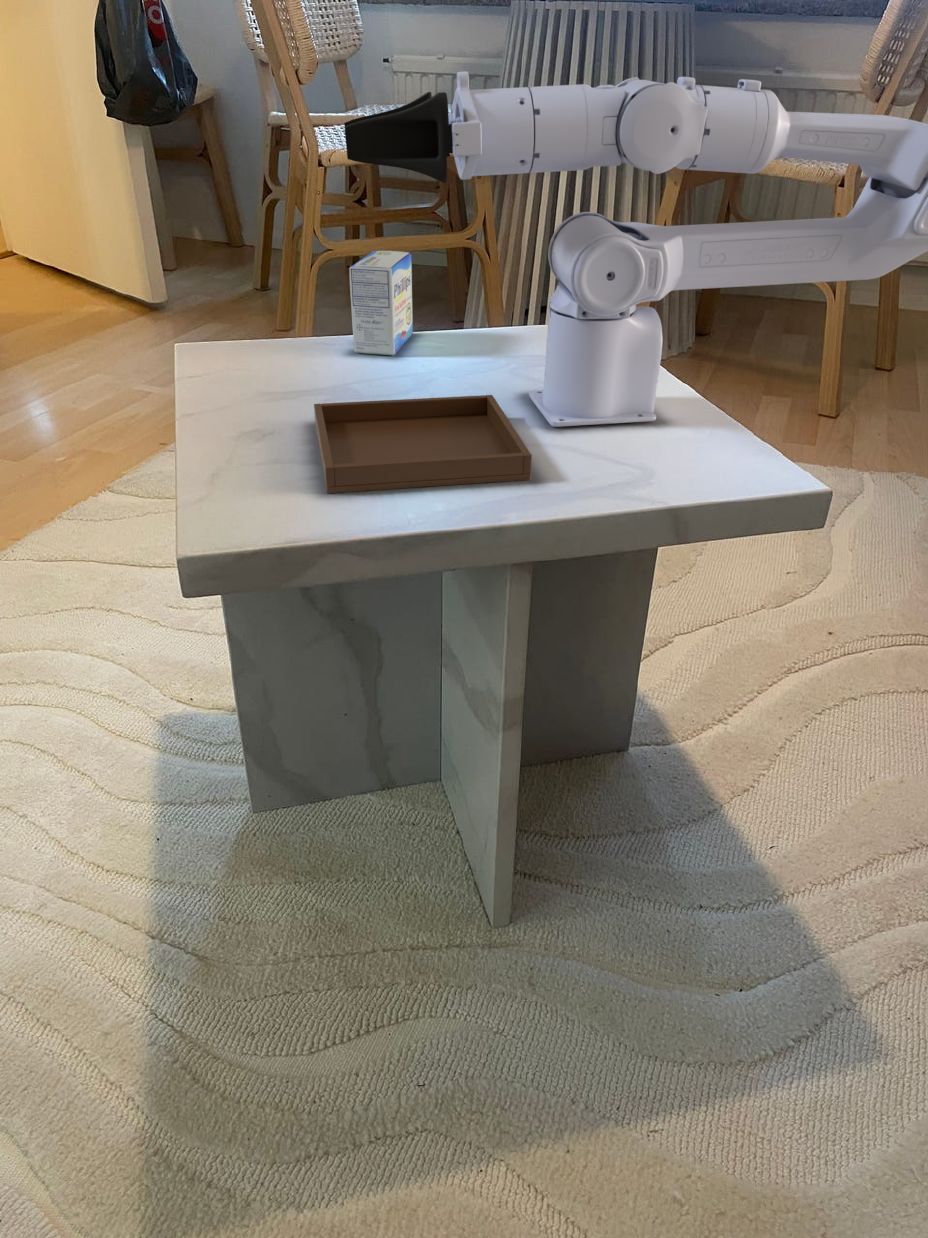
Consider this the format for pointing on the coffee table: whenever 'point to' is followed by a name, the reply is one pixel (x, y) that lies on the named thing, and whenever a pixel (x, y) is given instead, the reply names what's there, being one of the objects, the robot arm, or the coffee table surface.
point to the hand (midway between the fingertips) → (345, 139)
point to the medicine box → (381, 302)
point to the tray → (418, 443)
